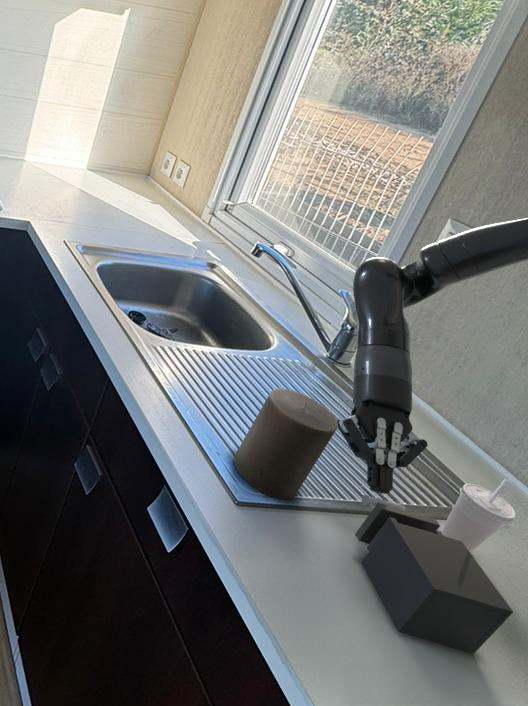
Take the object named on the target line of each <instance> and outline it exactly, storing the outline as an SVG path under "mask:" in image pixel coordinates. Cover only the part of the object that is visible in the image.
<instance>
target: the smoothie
mask: <svg viewBox="0 0 528 706" xmlns="http://www.w3.org/2000/svg"><path fill="white" fill-rule="evenodd" d="M510 482H511V481H510V480H509V479H507V478H504V479H503V480H502V482H501V483H500V484H499V486H498V487H497V488H496V489H495V490H494V491H492V490H490V489H489V488H486V487H484V486H481V485H478V484H475V483H465V484H464V485H463V486H462V487H460V489H459V494H460V495H459V496H458V498H457V500H456V502H455V504H454V506H453V507H452V509H451V511H450V513H449V515H448V516H447V519H446V520H445V522H444V524H443V526H442V528H441V530H440V532H441V533H442V534H443V535H444V536H445V537H449V538H452V539H456V540H459V541H462V543H463V544H464V545H465V547H466V548H467V549H468V551H469V552H470V553H471V552H473V551H474V550H475V549H477V548H478V547H479V546H480V545H481V544H483V543H484V542H485V541H486V540H488V539H490V537H492V536H493V535H494V534H495V533H497V532H498V531H499V530H500V529H501V528H503V527H504V526H505V525H506V524H507V525H508V524H509V525H510V524H512V523H513V522H514V520H515V519H516V518H517V513H516V511H515V509H514V508H513V506H511V504H510V503H509V502H508V501H506V499H504V498H503V497H501V496H500V494H501V493H502V492H503V491H504V489H505V488H506V487H508V485H509V483H510Z"/></svg>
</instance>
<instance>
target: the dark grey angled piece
mask: <svg viewBox="0 0 528 706" xmlns="http://www.w3.org/2000/svg"><path fill="white" fill-rule="evenodd" d="M361 504H362V505H363V506H364V507H367V508H368V509H369V510H370V513H368V516H367V517H366V518H365V520H364V521H363V522H362V523H361V525H360V527H359V528H358V530H356V532H355V534H354V536H355V537H356V539H357V541H358V542H360V543H364V544H368V545H367V547H366V550H367V551H368V552H369V551H370V549H371V548H372V547H373V545H374V544H375V543H376V541H377V540H378V539H379V537H380V536H381V535H382V533H383V532H384V530H385V529H386V528H387V526H388V525H389V524H390V523H391V521H393V522H397V523H400V524H404V525H407V526H411V527H414V528H418V529H421V530H425V531H428V532H431V533H435V534H438V535H442V536H444V535H443V534H442V533H441V530H438V529H439V528H440V527H441V525H440V523H439V522H438V519H436V518H434V517H430V516H427V515H423V514H419V513H416V512H413V511H410V510H407V508H406V506H405V505H403V504H399V503H395V502H392V501H388V500H385V499H382V498H379V497H375V496H371V495H368V494H363V495H362V496H361Z"/></svg>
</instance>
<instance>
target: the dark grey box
mask: <svg viewBox="0 0 528 706" xmlns="http://www.w3.org/2000/svg"><path fill="white" fill-rule="evenodd" d="M360 562H361V564H362V566H363V569H364V570H365V571H366V573H367V576H368V577H369V579H370V581H371V583H372V584H373V586H374V588H375V590H376V593H377V594H378V596H379V598H380V600H381V601H382V603H383V605H384V607H385V609H386V610H387V612H388V615H389V616H390V618H391V620H392V622H393V624H394V626H395V627H396V629H397V631H398V632H400V633H402V634H407V635H410V636H413V637H417V638H419V639H423V640H426V641H430V642H432V643H437V644H440V645H443V646H446V647H450V648H453V649H455V650H460V651H463V652H467V653H470V654H473V655H474V654H476V652H477V651H478V650H479V649H480V648H481V647H482V646H483V645H484V644H485V643H486V642H487V640H489V638H491V637H492V635H493V634H494V633H496V631H497V630H498V629H499V628H500V627H501V626H502V625H503V624H504V623H505V622H506V621H507V620H508V619H509V618H510V617H511V615H512V614H513V613H514V611H513V609H512V608H511V607H510V605H509V604H508V603H507V601H506V600H505V598H504V597H503V596H502V594H501V593H500V592H499V590H498V589H497V587H496V586H495V585H494V583H493V582H492V581H491V580H490V577H488V575H487V574H486V573H485V571H484V570H483V568H482V567H481V566H480V564H479V563H478V562H477V560H476V559H475V558H474V556H473V555H472V553H471V552H469V551H468V549H467V548H466V547H465V545H464V544H463V543H462V541H459V540H456V539H452V538H449V537H445V536H442V535H438V534H435V533H431V532H428V531H425V530H421V529H418V528H414V527H411V526H407V525H404V524H400V523H397V522H393V521H391V523H390V524H389V525H388V526H387V528H386V529H385V530H384V532H383V533H382V535H381V536H380V537H379V539H378V540H377V541H376V543H375V544H374V545H373V547H372V548H371V549H370V551H368V552H367V553H366V554H365V556H364V557H363V559H362V560H361V561H360Z"/></svg>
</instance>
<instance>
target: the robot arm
mask: <svg viewBox="0 0 528 706" xmlns="http://www.w3.org/2000/svg"><path fill="white" fill-rule="evenodd" d="M526 261H528V217H525V218H524V217H523V218H519V219H514V220H508V221H502V222H496V223H491V224H485V225H482V226H477V227H474V228H470V229H467V230H464V231H461V232H459V233H456V234H454V235H451V236H447V237H445V238H443V239H440V240H438V241H434V242H432V243H429V244H427V245H425V246H423V247H422V248H420V249H419V251H418V254H417V259H415V260H413V261H412V262H410V263H408V264H406V265H403V266H400V264H399V263H398V262H396V261H394V260H393V259H391V258H388V257H384V256H375V257H370V258H367V259H365V260H363V261H362V262H361V263H360V264H359V265H358V266H357V268H356V269H355V271H354V273H353V278H352V291H353V292H352V293H353V300H354V308H355V313H356V318H357V332H356V351H355V355H354V362H353V381H352V382H353V384H352V385H353V386H352V387H353V388H352V403H353V405H354V406H353V408H352V409H351V411H350V415H349V416H347V417H345V418H341V419H336V420H337V423H338V427H337V429H338V430H339V431H340V434H341V435H342V436H343V438H344V440H345V442H346V443H347V445H348V446H349V449H350V450H351V451H352V453H353V454H354V456H355V457H356V458H360V459H361V460H363V461H365V463H366V465H367V467H366V469H367V471H366V472H367V473H366V475H367V476H366V484H367V486H368V487H369V490H370V491H371V492H374V493H378V494H382V495H388V494H390V492H391V491H392V490H393V489H394V484H393V483H394V470H395V469H396V468H407V467H408V466H409V465H410V464H411V463H412V462H413V461H414V460H416V458H418V456H419V455H420V454H421V453H422V452H423V451H424V450H425V449H426V448H427V447H428V445H429V444H428V441H427V440H426V439H421V438H419V437H418V436H417V435H416V434H415V432H413V425H412V423H411V420H410V415H411V413H412V411H413V366H412V360H411V329H410V324H409V323H408V321H407V319H406V317H405V313H404V309H406V308H410V307H412V306H414V305H417V304H418V303H419V304H420V302H421V303H422V301H424V300H426V299H428V298H430V297H432V296H434V295H436V294H437V293H439V292H441V291H442V290H444V289H445V288H447V287H449V286H451V285H454V284H458V283H461V282H464V281H467V280H471V279H473V278H476V277H479V276H482V275H485V274H488V273H491V272H494V271H497V270H500V269H503V268H506V267H509V266H513V265H516V264H520V263H523V262H526ZM401 443H402V445H403V446H402V447H401Z"/></svg>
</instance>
